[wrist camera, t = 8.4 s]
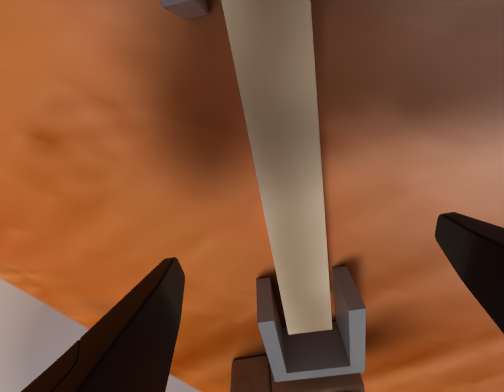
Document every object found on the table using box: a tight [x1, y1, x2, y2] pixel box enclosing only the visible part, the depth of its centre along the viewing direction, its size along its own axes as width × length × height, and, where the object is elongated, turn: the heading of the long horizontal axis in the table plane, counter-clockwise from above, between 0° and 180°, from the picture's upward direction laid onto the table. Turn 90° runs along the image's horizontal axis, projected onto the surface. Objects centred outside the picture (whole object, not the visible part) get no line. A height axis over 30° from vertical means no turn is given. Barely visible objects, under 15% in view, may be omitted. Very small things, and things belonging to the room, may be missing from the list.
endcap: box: [256, 266, 366, 382], centre depth 19 cm, size 6×7×4 cm
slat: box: [221, 0, 332, 335], centre depth 14 cm, size 3×22×3 cm, turn 11°
